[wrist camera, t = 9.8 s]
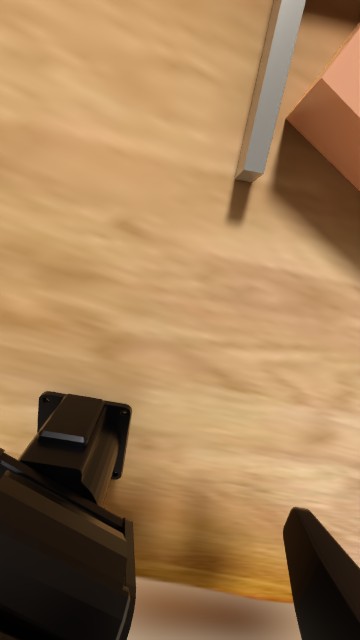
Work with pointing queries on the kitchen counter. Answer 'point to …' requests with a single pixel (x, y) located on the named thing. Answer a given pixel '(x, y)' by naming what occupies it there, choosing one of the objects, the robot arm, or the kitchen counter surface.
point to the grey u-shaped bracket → (269, 87)
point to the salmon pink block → (335, 110)
